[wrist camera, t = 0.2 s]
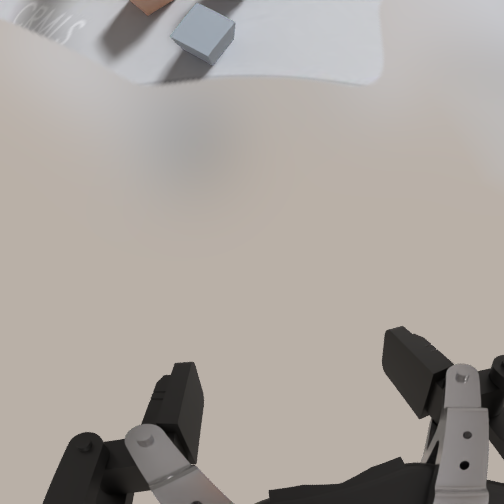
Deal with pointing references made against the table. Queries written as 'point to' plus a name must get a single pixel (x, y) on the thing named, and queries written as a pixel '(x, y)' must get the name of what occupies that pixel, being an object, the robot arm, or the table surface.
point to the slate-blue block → (204, 33)
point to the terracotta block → (150, 5)
